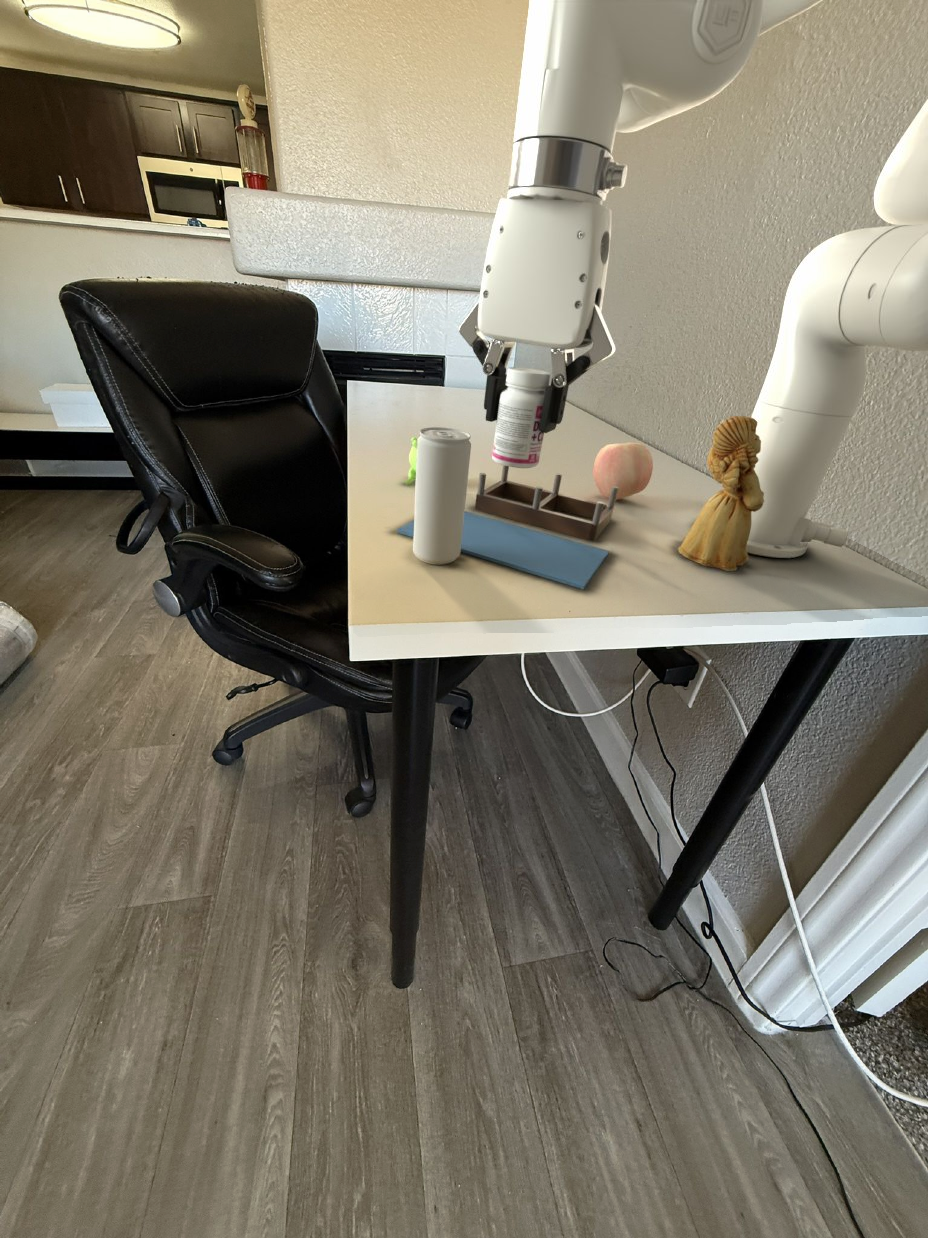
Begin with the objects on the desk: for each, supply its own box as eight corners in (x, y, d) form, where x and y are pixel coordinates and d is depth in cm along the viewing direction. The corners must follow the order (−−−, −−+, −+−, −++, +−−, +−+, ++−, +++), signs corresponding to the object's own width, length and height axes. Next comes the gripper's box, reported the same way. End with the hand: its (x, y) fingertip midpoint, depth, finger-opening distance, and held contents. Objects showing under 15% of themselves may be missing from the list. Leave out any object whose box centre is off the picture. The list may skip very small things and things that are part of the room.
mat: (608, 554, 57) (609, 550, 57) (583, 589, 49) (584, 585, 49) (442, 508, 64) (442, 505, 64) (397, 532, 56) (397, 529, 56)
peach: (636, 493, 78) (652, 438, 73) (649, 511, 71) (666, 451, 67) (584, 487, 78) (596, 432, 73) (591, 504, 71) (605, 444, 67)
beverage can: (417, 567, 50) (424, 439, 43) (408, 546, 54) (413, 425, 47) (465, 565, 51) (478, 440, 45) (453, 545, 55) (463, 427, 49)
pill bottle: (536, 472, 50) (553, 376, 45) (488, 464, 50) (499, 369, 46) (540, 460, 54) (555, 370, 49) (495, 453, 54) (506, 364, 50)
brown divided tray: (610, 521, 66) (619, 486, 64) (593, 541, 60) (603, 504, 57) (500, 493, 71) (504, 460, 69) (474, 509, 65) (478, 473, 63)
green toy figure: (405, 484, 71) (407, 441, 68) (406, 472, 75) (408, 432, 72) (450, 488, 71) (454, 445, 68) (449, 476, 76) (452, 435, 73)
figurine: (756, 575, 56) (820, 431, 48) (685, 566, 56) (736, 421, 48) (731, 546, 63) (783, 415, 55) (667, 538, 63) (710, 407, 55)
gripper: (674, 196, 41) (615, 436, 50) (480, 189, 46) (460, 405, 56) (659, 173, 35) (596, 449, 44) (439, 168, 41) (425, 413, 50)
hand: (520, 422), depth 50 cm, fingers closed on pill bottle, 4 cm apart
